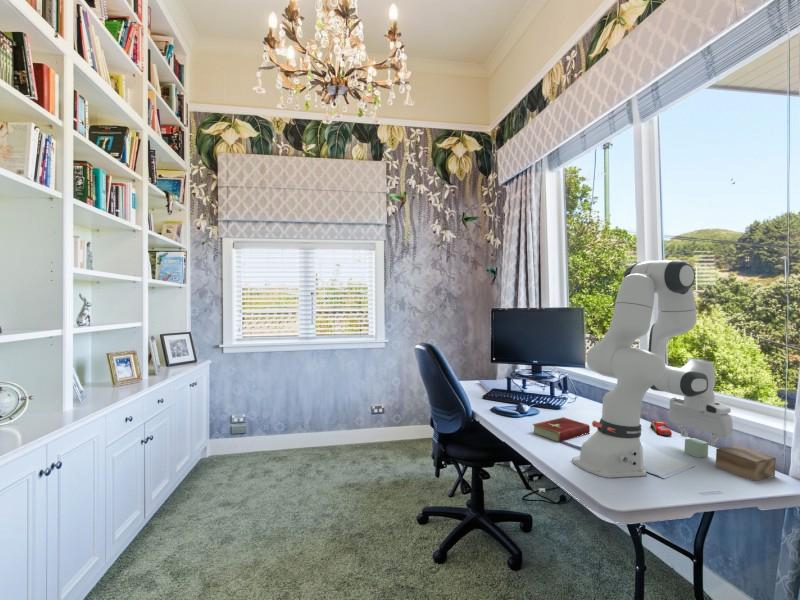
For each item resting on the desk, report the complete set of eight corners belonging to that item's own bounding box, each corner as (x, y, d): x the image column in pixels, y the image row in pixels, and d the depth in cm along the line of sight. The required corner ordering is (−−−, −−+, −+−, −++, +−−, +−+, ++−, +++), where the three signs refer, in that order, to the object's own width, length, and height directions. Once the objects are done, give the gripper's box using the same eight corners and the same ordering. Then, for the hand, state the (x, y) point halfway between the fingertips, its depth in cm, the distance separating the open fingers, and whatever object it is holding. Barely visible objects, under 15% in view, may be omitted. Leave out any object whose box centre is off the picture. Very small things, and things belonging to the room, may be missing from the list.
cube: (699, 458, 143) (699, 444, 143) (684, 452, 148) (685, 439, 147) (707, 456, 145) (708, 442, 145) (693, 451, 149) (693, 437, 149)
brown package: (754, 480, 125) (755, 461, 125) (715, 466, 135) (716, 448, 135) (774, 476, 129) (775, 457, 129) (735, 462, 140) (736, 445, 139)
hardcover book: (589, 434, 165) (590, 424, 165) (558, 443, 153) (559, 432, 153) (563, 426, 174) (563, 416, 174) (532, 433, 163) (532, 423, 163)
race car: (673, 438, 164) (673, 428, 164) (657, 436, 166) (658, 426, 166) (663, 428, 177) (663, 419, 177) (649, 427, 179) (649, 418, 178)
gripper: (664, 396, 155) (663, 432, 155) (725, 411, 136) (723, 452, 136) (675, 395, 157) (674, 430, 157) (736, 409, 138) (734, 449, 138)
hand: (697, 440), depth 146 cm, fingers open, 8 cm apart
